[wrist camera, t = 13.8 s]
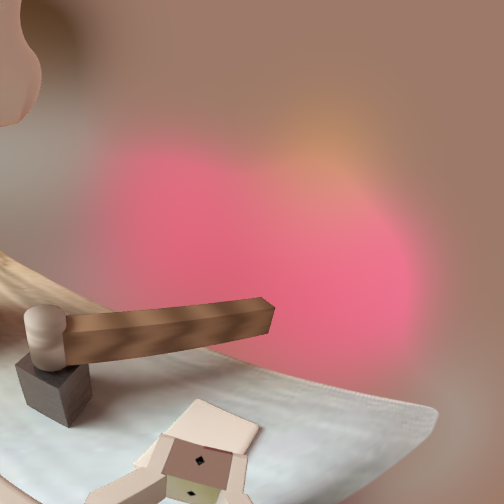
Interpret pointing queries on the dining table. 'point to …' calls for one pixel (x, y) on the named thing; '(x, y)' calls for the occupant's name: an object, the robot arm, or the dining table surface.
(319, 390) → the dining table surface
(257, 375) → the dining table surface
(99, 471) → the dining table surface
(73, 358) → the walnut swing arm
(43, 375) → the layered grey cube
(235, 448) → the external hard drive
